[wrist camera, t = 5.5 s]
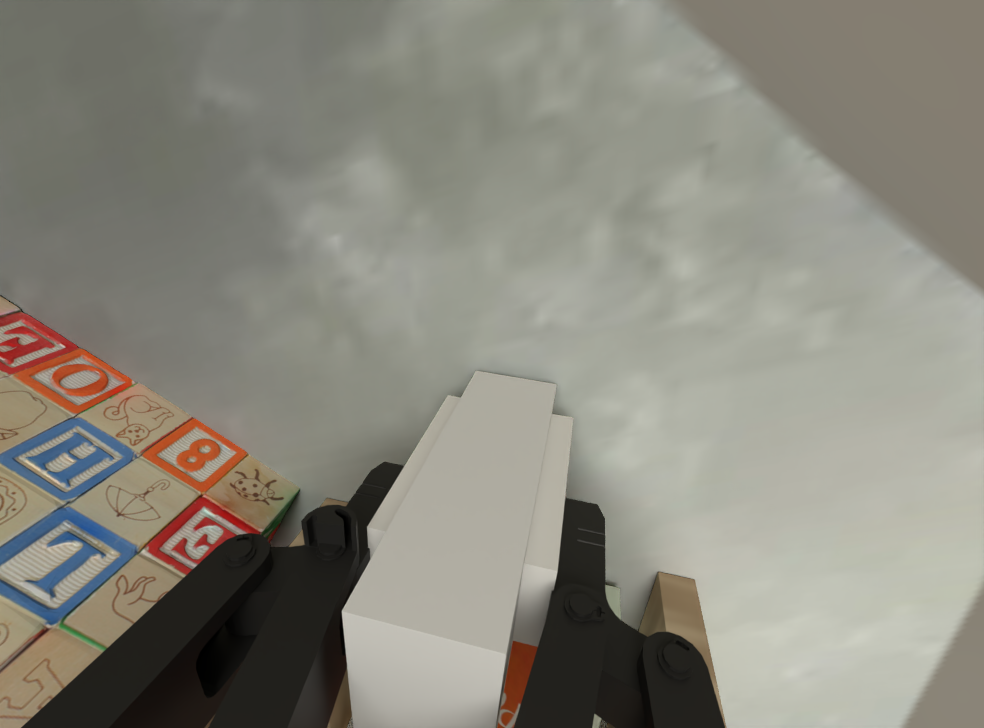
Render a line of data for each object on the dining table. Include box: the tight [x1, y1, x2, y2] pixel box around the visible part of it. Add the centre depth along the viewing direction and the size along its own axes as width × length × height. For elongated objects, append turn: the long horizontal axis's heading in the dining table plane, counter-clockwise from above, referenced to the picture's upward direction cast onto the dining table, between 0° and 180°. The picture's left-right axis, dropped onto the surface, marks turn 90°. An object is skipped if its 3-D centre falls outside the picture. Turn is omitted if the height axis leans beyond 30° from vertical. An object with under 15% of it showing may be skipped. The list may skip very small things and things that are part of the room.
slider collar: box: [342, 371, 621, 728], centre depth 17 cm, size 21×11×10 cm, turn 176°
